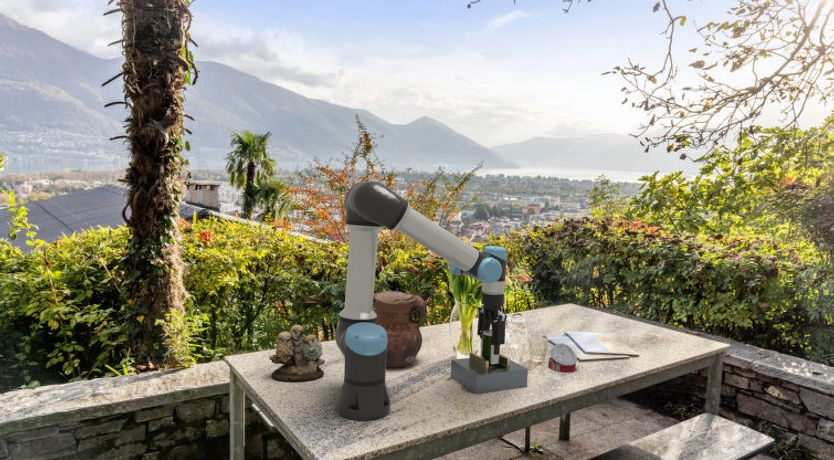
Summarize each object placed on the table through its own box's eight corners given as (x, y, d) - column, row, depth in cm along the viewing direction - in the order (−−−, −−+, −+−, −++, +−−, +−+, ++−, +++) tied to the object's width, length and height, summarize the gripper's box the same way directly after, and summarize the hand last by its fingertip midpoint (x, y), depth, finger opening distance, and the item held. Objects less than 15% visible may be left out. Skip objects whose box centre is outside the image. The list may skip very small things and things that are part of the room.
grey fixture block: (475, 394, 156) (477, 365, 155) (448, 375, 171) (449, 349, 171) (534, 385, 166) (535, 359, 165) (503, 368, 181) (504, 344, 181)
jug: (369, 373, 170) (372, 301, 168) (356, 354, 190) (359, 290, 188) (429, 369, 177) (433, 300, 175) (411, 351, 197) (414, 289, 195)
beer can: (488, 369, 163) (490, 333, 162) (477, 364, 168) (479, 329, 167) (500, 367, 166) (502, 332, 165) (489, 362, 171) (491, 328, 170)
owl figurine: (269, 384, 155) (270, 331, 155) (267, 372, 167) (269, 322, 166) (326, 380, 161) (328, 328, 160) (321, 368, 172) (323, 320, 171)
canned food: (571, 379, 188) (586, 358, 185) (563, 383, 179) (579, 362, 177) (547, 359, 193) (561, 339, 191) (538, 362, 185) (553, 341, 183)
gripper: (519, 297, 159) (514, 368, 160) (487, 287, 175) (483, 351, 177) (499, 298, 156) (495, 370, 157) (469, 288, 172) (465, 353, 173)
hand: (489, 360), depth 167 cm, fingers closed on beer can, 5 cm apart
